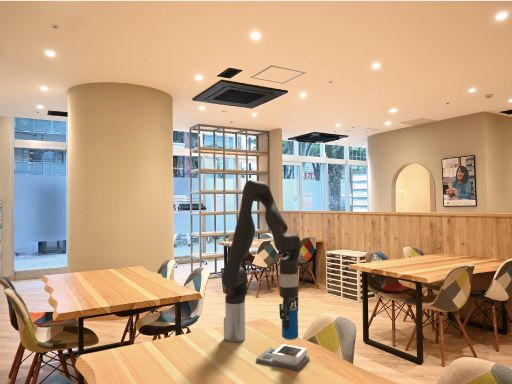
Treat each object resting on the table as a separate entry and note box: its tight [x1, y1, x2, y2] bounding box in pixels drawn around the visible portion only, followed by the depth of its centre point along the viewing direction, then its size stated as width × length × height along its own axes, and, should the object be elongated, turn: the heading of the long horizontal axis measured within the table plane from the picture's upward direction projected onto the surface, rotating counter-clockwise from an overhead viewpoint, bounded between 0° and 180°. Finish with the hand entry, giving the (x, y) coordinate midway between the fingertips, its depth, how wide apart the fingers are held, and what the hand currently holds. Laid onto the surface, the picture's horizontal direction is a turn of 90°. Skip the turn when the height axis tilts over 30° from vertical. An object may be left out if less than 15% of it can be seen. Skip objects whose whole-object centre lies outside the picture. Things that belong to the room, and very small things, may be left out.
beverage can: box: [281, 307, 299, 341], centre depth 149 cm, size 6×6×12 cm
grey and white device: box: [255, 343, 310, 372], centre depth 150 cm, size 18×12×4 cm, turn 61°
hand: (289, 326), depth 149 cm, fingers closed on beverage can, 6 cm apart
